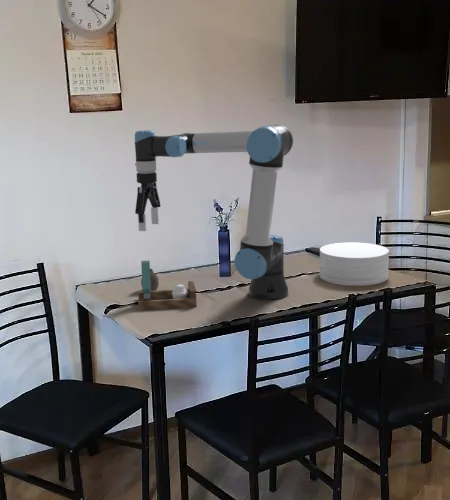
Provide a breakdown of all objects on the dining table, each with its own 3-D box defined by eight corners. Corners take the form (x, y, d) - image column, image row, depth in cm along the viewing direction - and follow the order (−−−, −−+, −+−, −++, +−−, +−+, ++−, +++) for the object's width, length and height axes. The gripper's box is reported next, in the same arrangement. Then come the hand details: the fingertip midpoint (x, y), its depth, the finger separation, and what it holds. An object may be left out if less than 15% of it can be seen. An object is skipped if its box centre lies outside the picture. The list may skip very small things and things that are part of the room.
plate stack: (400, 282, 278) (401, 254, 276) (335, 288, 272) (335, 260, 269) (369, 265, 305) (370, 240, 302) (309, 271, 298) (309, 245, 296)
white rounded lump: (184, 305, 254) (183, 287, 253) (169, 303, 256) (168, 285, 255) (191, 300, 260) (190, 282, 258) (176, 299, 262) (176, 281, 260)
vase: (145, 294, 269) (144, 272, 267) (139, 290, 275) (137, 268, 273) (161, 291, 272) (160, 270, 270) (155, 287, 278) (154, 266, 276)
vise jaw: (151, 299, 261) (149, 258, 258) (151, 307, 252) (149, 264, 249) (143, 299, 261) (141, 258, 257) (143, 307, 252) (141, 265, 248)
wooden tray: (193, 296, 265) (193, 281, 264) (196, 306, 252) (196, 290, 251) (138, 299, 263) (137, 283, 262) (138, 310, 250) (137, 294, 248)
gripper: (148, 168, 273) (151, 221, 278) (124, 176, 250) (127, 233, 255) (166, 168, 271) (169, 221, 276) (143, 176, 248) (146, 234, 253)
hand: (149, 227), depth 265 cm, fingers open, 13 cm apart
